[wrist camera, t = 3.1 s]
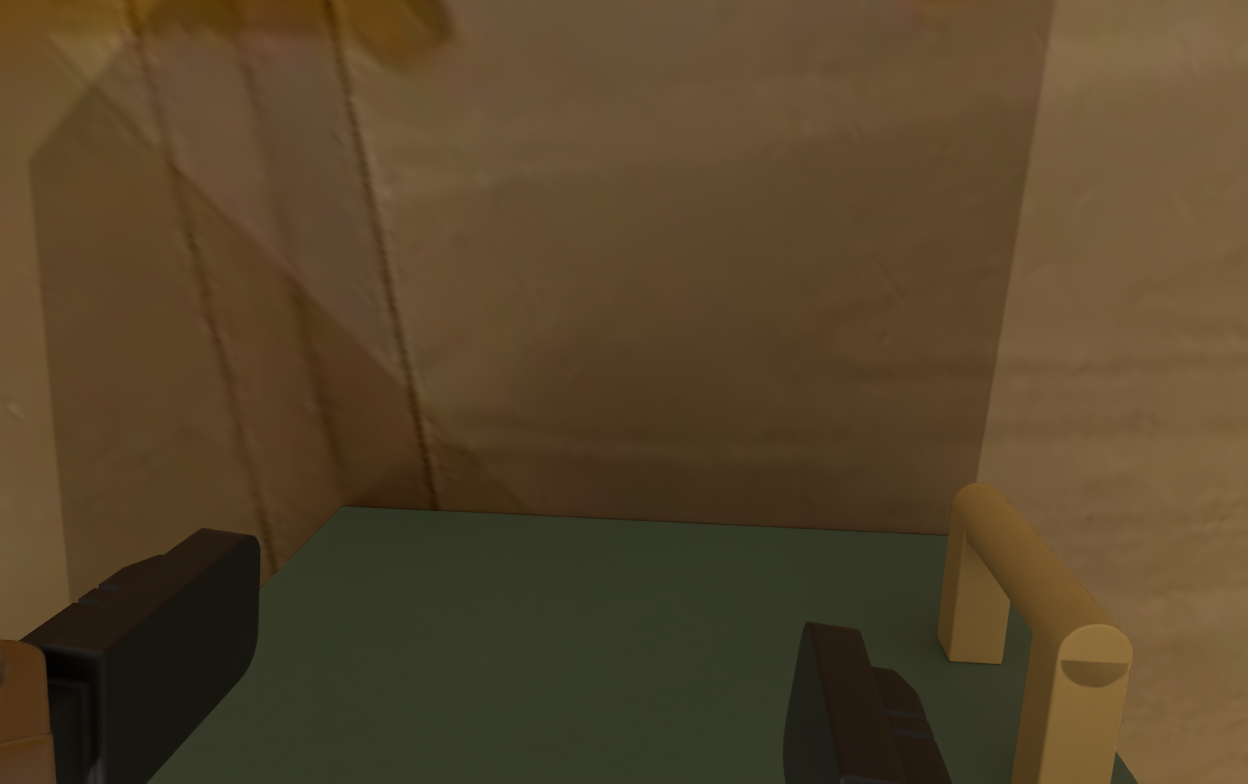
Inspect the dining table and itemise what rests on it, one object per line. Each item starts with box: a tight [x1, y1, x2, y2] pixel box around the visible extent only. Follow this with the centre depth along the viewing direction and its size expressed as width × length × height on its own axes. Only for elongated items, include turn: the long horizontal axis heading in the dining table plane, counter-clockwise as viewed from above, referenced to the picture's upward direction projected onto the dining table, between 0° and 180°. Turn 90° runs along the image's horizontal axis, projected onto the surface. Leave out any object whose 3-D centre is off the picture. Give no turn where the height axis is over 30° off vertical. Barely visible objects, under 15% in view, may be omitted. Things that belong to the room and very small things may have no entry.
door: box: [147, 483, 1138, 784], centre depth 27 cm, size 6×26×24 cm, turn 88°
